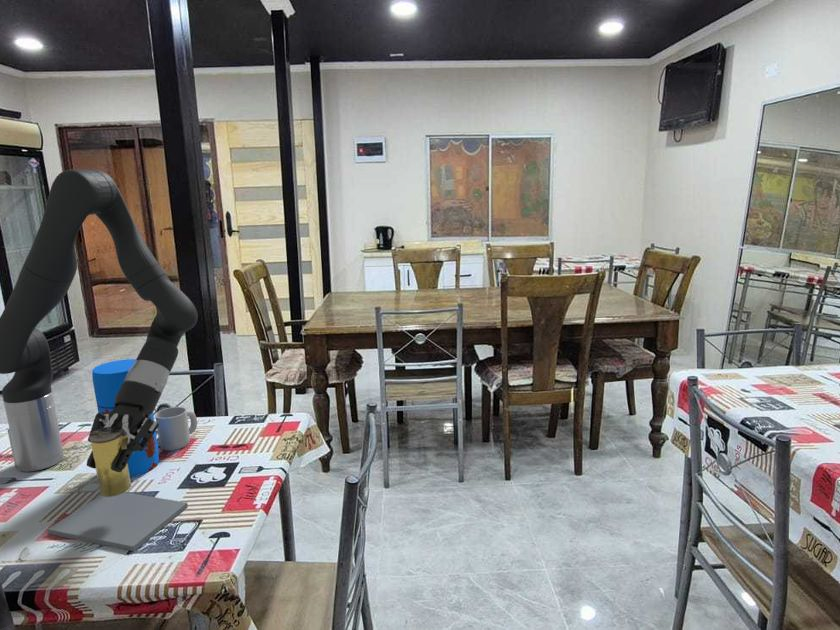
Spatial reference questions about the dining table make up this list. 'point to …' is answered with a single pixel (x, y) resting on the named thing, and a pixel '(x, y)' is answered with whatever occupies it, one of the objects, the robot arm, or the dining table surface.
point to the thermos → (106, 389)
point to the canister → (109, 461)
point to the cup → (175, 427)
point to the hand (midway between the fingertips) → (103, 468)
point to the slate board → (119, 520)
